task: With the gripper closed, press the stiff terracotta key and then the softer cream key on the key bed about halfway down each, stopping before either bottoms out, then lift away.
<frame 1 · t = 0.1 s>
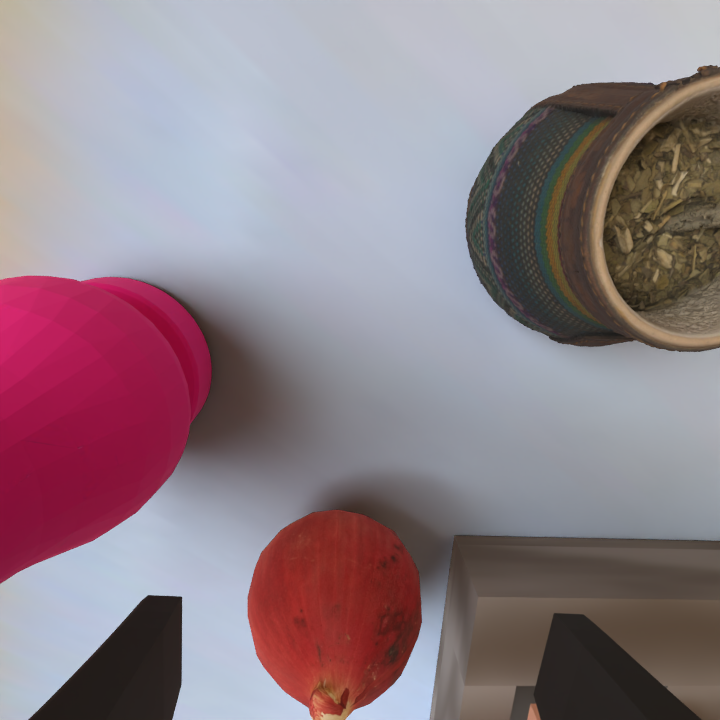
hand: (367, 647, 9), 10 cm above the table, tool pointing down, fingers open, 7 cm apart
onion: (335, 529, 20), on the table
key bed: (664, 667, 23), on the table
pepper mill: (128, 361, 18), on the table
mate gourd: (549, 217, 17), on the table
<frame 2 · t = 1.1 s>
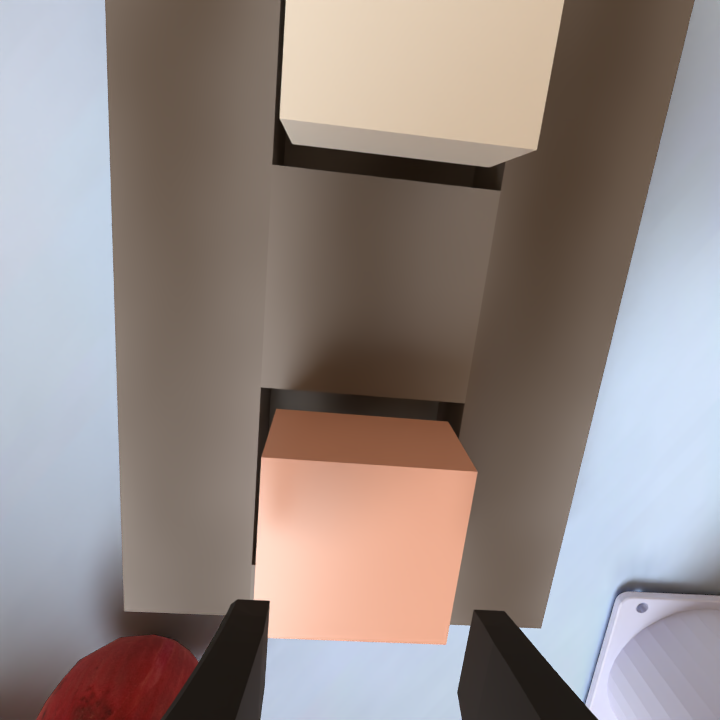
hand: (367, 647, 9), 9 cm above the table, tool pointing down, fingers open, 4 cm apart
onion: (163, 641, 21), on the table
key bed: (367, 279, 17), on the table
cream key: (415, 17, 10), point 5 cm above the table, slide at 0.0 cm
terracotta key: (357, 521, 13), point 5 cm above the table, slide at 0.0 cm
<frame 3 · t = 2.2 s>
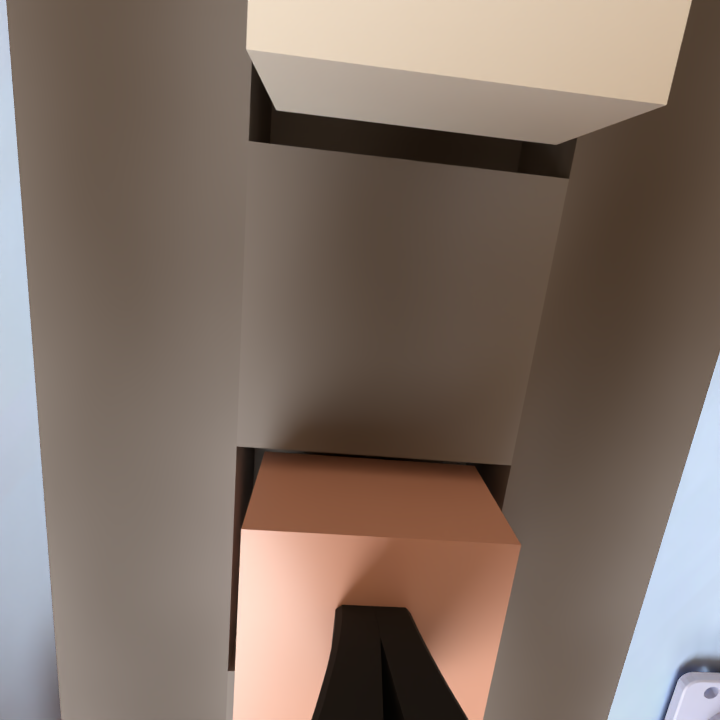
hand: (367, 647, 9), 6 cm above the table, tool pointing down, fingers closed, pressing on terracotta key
key bed: (378, 295, 13), on the table
terracotta key: (364, 593, 11), point 4 cm above the table, slide at 1.2 cm, touching gripper
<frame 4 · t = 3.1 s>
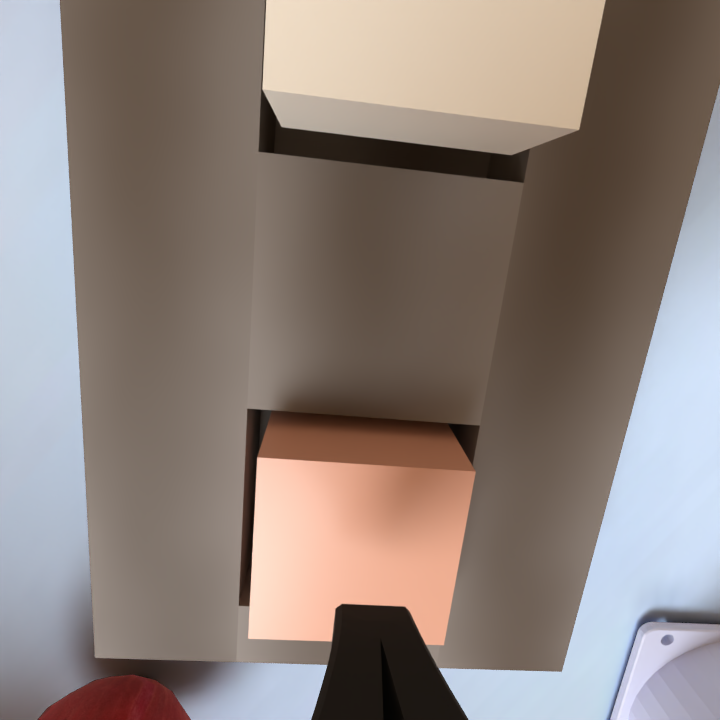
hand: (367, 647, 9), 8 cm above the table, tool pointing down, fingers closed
onion: (144, 678, 19), on the table
key bed: (368, 283, 15), on the table
terracotta key: (354, 521, 13), point 4 cm above the table, slide at 1.7 cm
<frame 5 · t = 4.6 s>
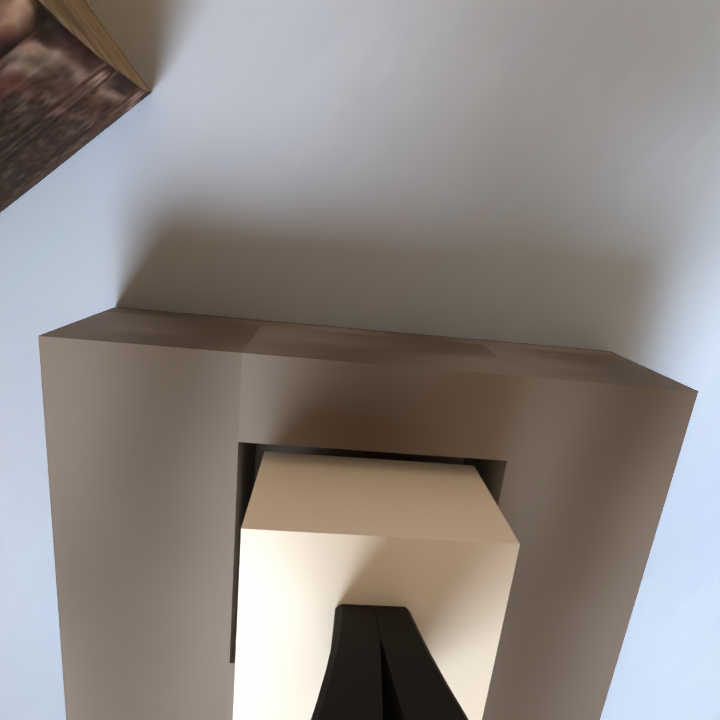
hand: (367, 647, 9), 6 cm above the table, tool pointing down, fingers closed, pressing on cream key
key bed: (337, 647, 16), on the table
cream key: (363, 592, 11), point 4 cm above the table, slide at 1.0 cm, touching gripper
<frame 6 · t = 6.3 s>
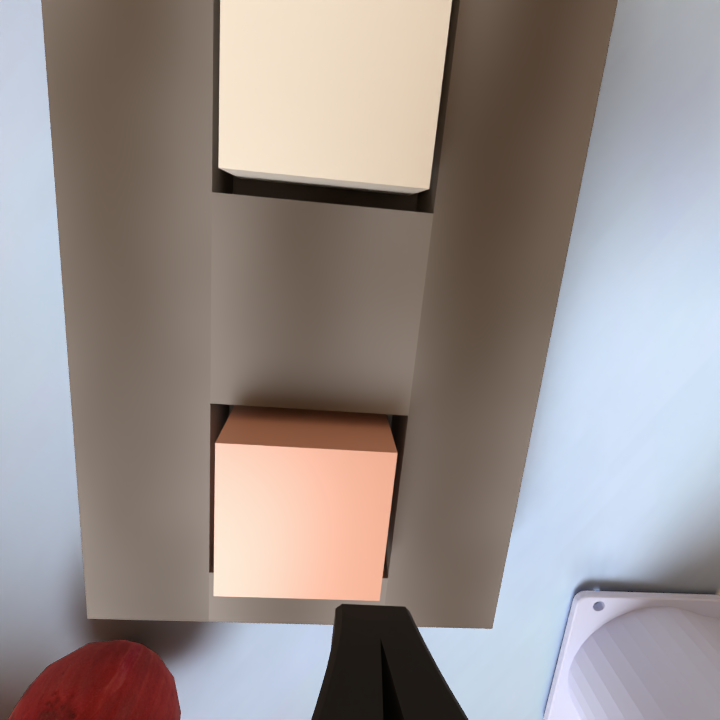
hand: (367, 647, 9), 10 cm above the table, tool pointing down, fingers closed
onion: (134, 645, 21), on the table
key bed: (319, 294, 17), on the table
cream key: (333, 79, 12), point 4 cm above the table, slide at 1.7 cm
terracotta key: (305, 498, 15), point 4 cm above the table, slide at 1.7 cm
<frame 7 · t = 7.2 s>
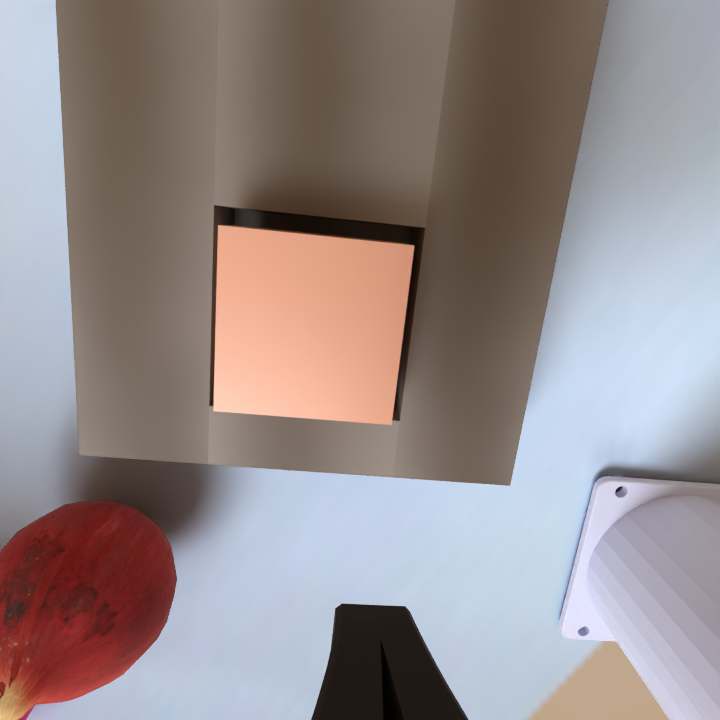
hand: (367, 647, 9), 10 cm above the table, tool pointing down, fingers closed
onion: (130, 524, 20), on the table
key bed: (331, 126, 16), on the table
terracotta key: (313, 320, 14), point 4 cm above the table, slide at 1.7 cm
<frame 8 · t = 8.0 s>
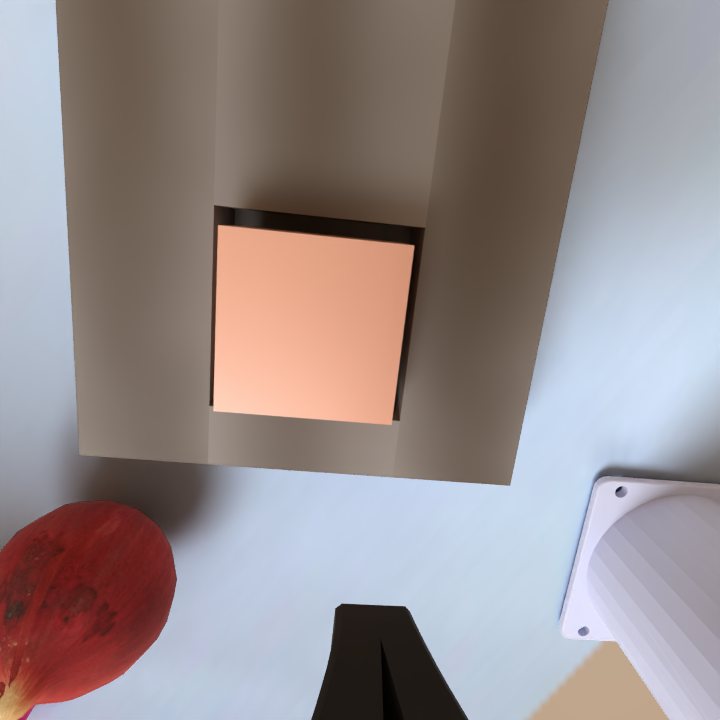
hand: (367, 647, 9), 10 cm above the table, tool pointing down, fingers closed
onion: (130, 524, 20), on the table
key bed: (331, 126, 16), on the table
terracotta key: (313, 320, 14), point 4 cm above the table, slide at 1.7 cm
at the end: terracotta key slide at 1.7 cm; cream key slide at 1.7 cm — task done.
